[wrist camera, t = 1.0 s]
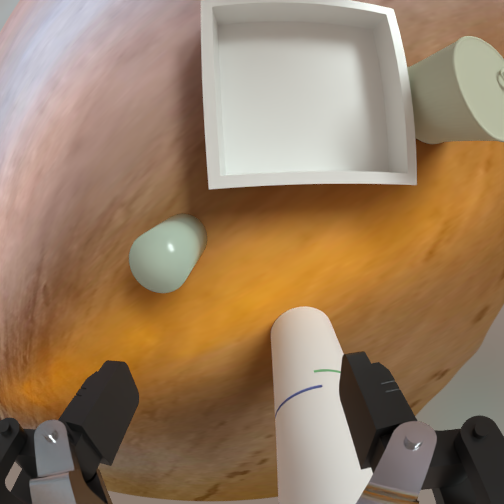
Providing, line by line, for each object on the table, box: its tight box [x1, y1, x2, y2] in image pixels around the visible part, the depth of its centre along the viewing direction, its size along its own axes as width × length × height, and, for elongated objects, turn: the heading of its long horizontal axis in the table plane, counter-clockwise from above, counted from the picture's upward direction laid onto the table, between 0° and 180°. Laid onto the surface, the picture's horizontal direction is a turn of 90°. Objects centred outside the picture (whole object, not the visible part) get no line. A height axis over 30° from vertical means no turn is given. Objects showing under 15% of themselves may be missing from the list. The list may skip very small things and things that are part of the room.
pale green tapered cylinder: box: [129, 214, 207, 293], centre depth 25 cm, size 5×5×8 cm
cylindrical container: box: [271, 307, 373, 504], centre depth 20 cm, size 7×7×25 cm
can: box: [407, 36, 504, 144], centre depth 18 cm, size 9×9×12 cm
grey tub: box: [201, 0, 417, 189], centre depth 22 cm, size 18×18×5 cm
